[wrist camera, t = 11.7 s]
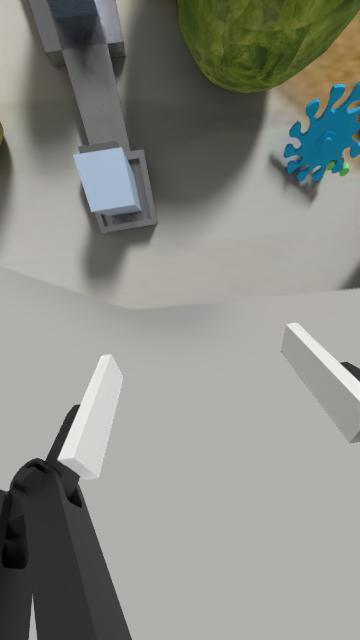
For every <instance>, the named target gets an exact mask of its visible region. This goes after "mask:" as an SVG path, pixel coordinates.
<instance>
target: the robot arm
mask: <svg viewBox="0 0 360 640" xmlns="http://www.w3.org/2000/svg"><path fill="white" fill-rule="evenodd" d="M281 352H282V354H283V355H284V356H285V358H286V359H287V361H288V362H289V363H290V364H291V366H292V367H293V368H294V370H295V371H296V373H297V374H298V375H299V377H300V378H301V379H302V381H303V382H304V383H305V385H306V386H307V387H308V389H309V390H310V391H311V393H312V394H313V395H314V397H315V398H316V399H317V400H318V402H319V403H320V405H321V406H322V407H323V408H324V410H325V411H326V413H327V414H328V415H329V417H330V418H331V419H332V421H333V422H334V423H335V424H336V426H337V427H338V429H339V430H340V431H341V433H342V434H343V435H344V437H345V438H346V439H347V441H348V442H349V443H355V442H360V369H359V368H357V367H355V366H353V365H352V364H350V363H348V362H343V363H339V362H338V361H337V360H336V359H335V358H334V357H333V356H332V355H331V354H330V353H328V352H327V351H326V350H325V349H324V348H323V347H322V346H321V345H320V344H319V343H318V342H317V341H316V340H315V339H313V337H312V336H310V335H309V334H308V333H307V332H306V331H305V330H304V329H303V328H302V327H301V326H300V325H299V324H298V323H292V324H286V328H285V333H284V338H283V344H282V349H281ZM122 382H123V376H122V374H121V372H120V370H119V368H118V366H117V364H116V363H115V360H114V359H113V357H112V355H111V354H109V355H104V356H101V358H100V360H99V363H98V365H97V368H96V370H95V372H94V375H93V377H92V380H91V382H90V384H89V386H88V389H87V391H86V393H85V396H84V398H83V400H82V403H81V404H80V405H75V406H74V407H72V409H71V410H70V411H69V413H68V414H67V416H66V418H65V420H64V422H63V425H62V426H61V428H60V432H59V433H58V435H57V437H56V439H55V441H54V443H53V446H52V448H51V450H50V452H49V454H48V456H47V458H46V460H45V461H43V460H42V459H39V458H36V459H32V460H30V461H29V462H27V463H26V464H25V465H24V466H22V467H21V468H20V469H19V471H18V472H17V473H16V475H15V476H14V478H13V480H12V482H11V484H10V490H9V491H7V492H6V491H3V490H0V640H28V639H29V628H30V616H31V604H32V593H33V601H34V611H35V621H36V630H37V640H132V639H131V636H130V633H129V630H128V627H127V624H126V621H125V618H124V615H123V612H122V609H121V607H120V603H119V600H118V598H117V594H116V592H115V589H114V586H113V583H112V580H111V577H110V574H109V571H108V568H107V565H106V562H105V559H104V556H103V553H102V550H101V548H100V545H99V542H98V539H97V536H96V533H95V530H94V527H93V524H92V521H91V518H90V516H89V512H88V509H87V506H86V504H85V501H84V498H83V495H82V492H81V489H80V486H79V485H78V481H79V478H80V477H82V478H83V479H84V480H88V479H95V478H99V475H100V471H101V466H102V463H103V459H104V455H105V450H106V446H107V442H108V438H109V434H110V430H111V426H112V422H113V417H114V414H115V410H116V406H117V401H118V398H119V394H120V390H121V386H122Z"/></svg>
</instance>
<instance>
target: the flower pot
mask: <svg viewBox="0 0 360 640" xmlns="http://www.w3.org/2000/svg"><path fill="white" fill-rule="evenodd" d="M2 140H3V127H2V125H1V123H0V146H1V143H2Z"/></svg>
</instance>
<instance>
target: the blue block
mask: <svg viewBox="0 0 360 640" xmlns="http://www.w3.org/2000/svg"><path fill="white" fill-rule="evenodd" d="M78 148H79V151H80V154H75V155H73V157H74V160H75V163H76V167H77V170H78V173H79V176H80V179H81V182H82V185H83V188H84V191H85V194H86V197H87V200H88V203H89V206H90V209H91V212H95V213H99V214H104V215H109V216H116V215H122V214H128V213H134V212H140V211H142V210H141V206H140V201H139V196H138V192H137V187H136V183H135V178H134V174H133V171H132V169H131V167H130V165H129V162H128V160H127V158H126V156H125V153H124V151H123V149H122V147H120V148H119V145H118V143H117V141H111V142H105V143H99V144H92V145H86V146H79V147H78Z"/></svg>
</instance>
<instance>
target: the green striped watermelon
mask: <svg viewBox="0 0 360 640" xmlns="http://www.w3.org/2000/svg"><path fill="white" fill-rule="evenodd" d="M177 3H178V16H179V28H180V31H181V33H182V35H183V37H184V39H185V42H186V44H187V46H188V48H189V50H190V52H191V55H192V56H193V58H194V60H195V61H196V63H197V65H198V67H199V68H200V70H201V72H202V73H203V74H204V75H205V76H206V77H207V78H208V79H209V80H210V81H211V82H212V83H213V84H215V85H217V86H219V87H221V88H224V89H226V90H228V91H232V92H239V93H245V94H246V93H255V92H263V91H266V90H268V89H271V88H273V87H276V86H278V85H281V84H282V83H284V82H285V81H287V80H288V79H290V78H291V77H293V76H294V75H295V74H297V73H298V72H300V71H301V70H302V69H304V68H305V67H306V66H308V65H309V64H310V63H311V62H313V61H314V60H315V59H316V58H318V57H319V56H320V55H322V54H323V53H324V52H325V51H326V50H327V49H328V48H329V47H330V46H331V44H332V43H333V42H334V41H335V40H336V38H337V37H338V36H339V35H340V34H341V32H342V31H343V30H344V29H345V28H346V26H347V25H348V24H349V23H350V22H351V20H352V19H353V18H354V17H355V15H356V14H357V13H358V11H359V10H360V0H177Z"/></svg>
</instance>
